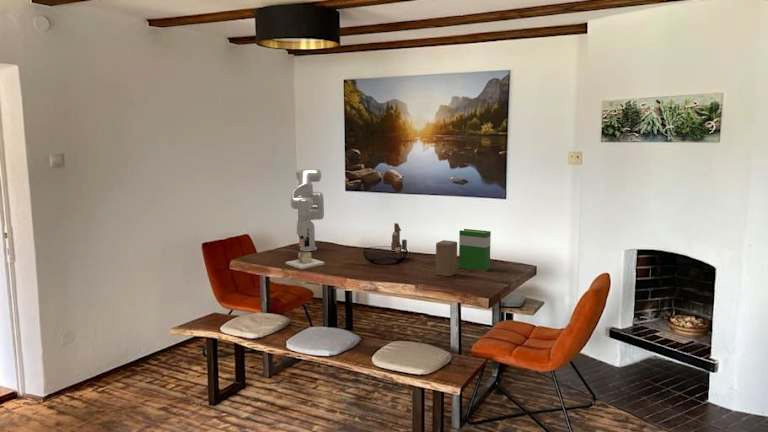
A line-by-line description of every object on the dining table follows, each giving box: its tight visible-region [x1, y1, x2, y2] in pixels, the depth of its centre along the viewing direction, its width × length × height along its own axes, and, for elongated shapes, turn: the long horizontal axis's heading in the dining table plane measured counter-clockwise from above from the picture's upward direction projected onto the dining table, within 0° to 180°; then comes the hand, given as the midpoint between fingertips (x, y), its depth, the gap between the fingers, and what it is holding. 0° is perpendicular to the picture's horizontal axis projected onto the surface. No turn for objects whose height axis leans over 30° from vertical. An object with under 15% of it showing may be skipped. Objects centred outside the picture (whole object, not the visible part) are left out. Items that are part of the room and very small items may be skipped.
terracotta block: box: [298, 238, 310, 248], centre depth 364 cm, size 5×5×5 cm
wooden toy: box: [390, 222, 408, 259], centre depth 375 cm, size 16×7×25 cm, turn 157°
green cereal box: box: [458, 228, 492, 271], centre depth 351 cm, size 18×7×24 cm, turn 57°
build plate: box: [285, 257, 325, 270], centre depth 366 cm, size 18×18×2 cm
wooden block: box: [435, 239, 458, 277], centre depth 336 cm, size 10×10×20 cm
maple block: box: [297, 251, 312, 263], centre depth 366 cm, size 6×6×6 cm
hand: (304, 245), depth 364 cm, fingers closed on terracotta block, 5 cm apart
